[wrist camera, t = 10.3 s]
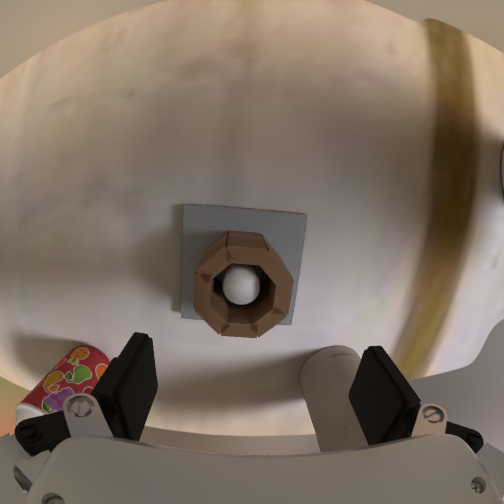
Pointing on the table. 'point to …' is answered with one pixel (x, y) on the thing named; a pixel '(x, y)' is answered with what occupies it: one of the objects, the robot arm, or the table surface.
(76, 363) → the smoothie
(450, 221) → the table surface
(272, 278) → the walnut ring
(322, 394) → the thermos bottle
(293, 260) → the post stand
